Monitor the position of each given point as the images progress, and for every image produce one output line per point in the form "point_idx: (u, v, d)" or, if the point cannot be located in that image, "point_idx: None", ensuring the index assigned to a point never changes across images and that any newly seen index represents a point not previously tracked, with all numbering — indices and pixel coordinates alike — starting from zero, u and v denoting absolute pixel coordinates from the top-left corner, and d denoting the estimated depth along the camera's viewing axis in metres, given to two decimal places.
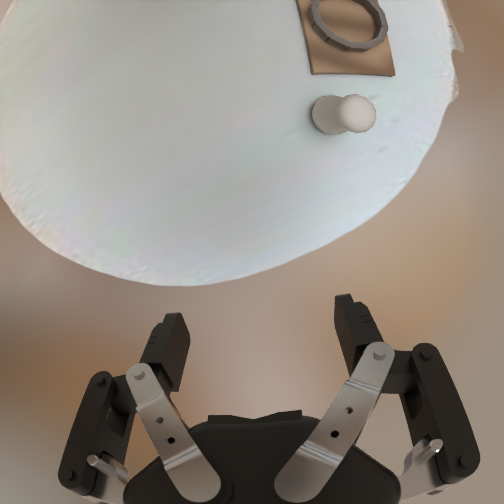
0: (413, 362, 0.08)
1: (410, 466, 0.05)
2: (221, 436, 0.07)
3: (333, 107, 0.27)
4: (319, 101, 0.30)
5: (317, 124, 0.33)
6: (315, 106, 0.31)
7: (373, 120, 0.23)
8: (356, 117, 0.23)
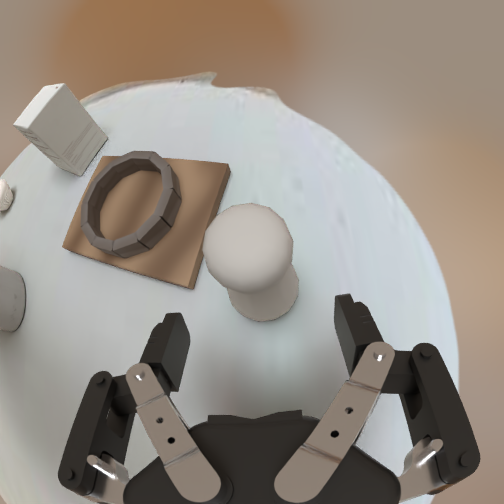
0: (413, 362, 0.08)
1: (410, 466, 0.05)
2: (221, 436, 0.07)
3: None
4: (231, 300, 0.20)
5: (270, 318, 0.20)
6: (238, 309, 0.21)
7: (269, 213, 0.12)
8: (250, 252, 0.12)
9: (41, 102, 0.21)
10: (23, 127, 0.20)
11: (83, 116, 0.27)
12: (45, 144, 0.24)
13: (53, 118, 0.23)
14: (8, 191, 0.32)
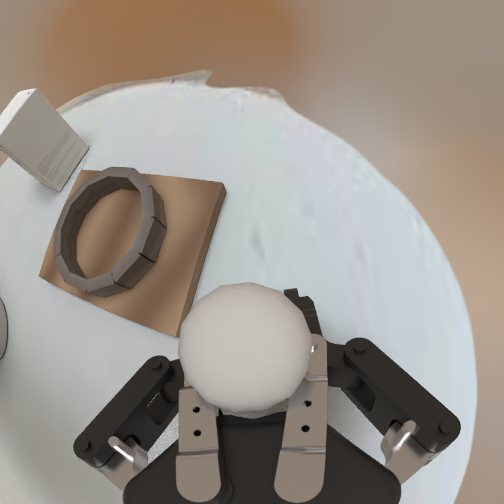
0: (349, 360, 0.09)
1: (392, 453, 0.06)
2: (221, 436, 0.07)
3: None
4: None
5: None
6: None
7: (279, 306, 0.08)
8: (249, 371, 0.07)
9: (12, 110, 0.16)
10: None
11: (59, 124, 0.22)
12: (17, 159, 0.19)
13: (24, 128, 0.18)
14: None
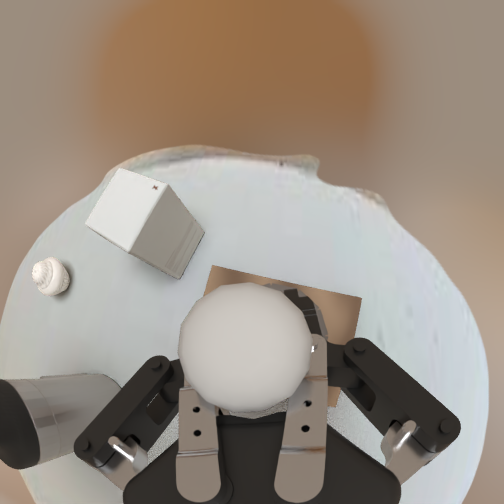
0: (349, 360, 0.09)
1: (392, 453, 0.06)
2: (221, 436, 0.07)
3: None
4: None
5: None
6: None
7: (278, 306, 0.08)
8: (249, 371, 0.07)
9: (135, 207, 0.23)
10: (115, 244, 0.23)
11: (185, 218, 0.29)
12: (148, 262, 0.26)
13: (157, 231, 0.25)
14: (65, 273, 0.34)
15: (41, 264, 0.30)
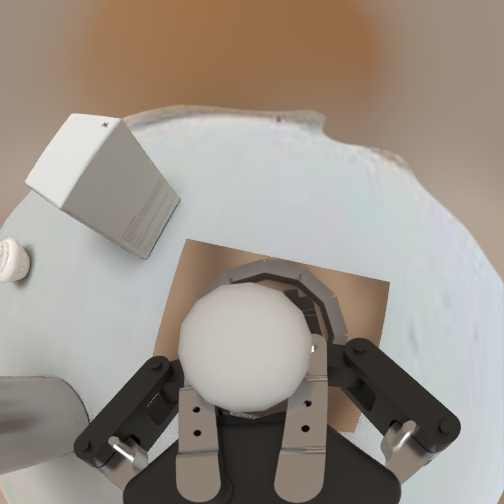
0: (350, 360, 0.09)
1: (392, 453, 0.06)
2: (221, 436, 0.07)
3: None
4: None
5: None
6: None
7: (278, 306, 0.08)
8: (249, 371, 0.07)
9: (78, 151, 0.14)
10: (49, 200, 0.14)
11: (150, 173, 0.21)
12: (94, 228, 0.17)
13: (105, 183, 0.16)
14: (23, 256, 0.25)
15: None
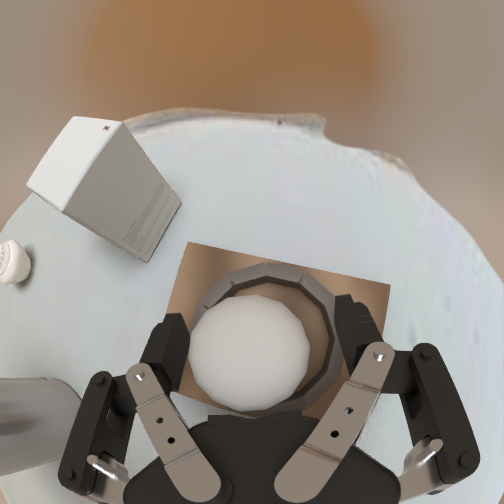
0: (413, 362, 0.08)
1: (410, 466, 0.05)
2: (221, 436, 0.07)
3: None
4: None
5: None
6: None
7: (279, 317, 0.09)
8: (253, 374, 0.08)
9: (79, 154, 0.15)
10: (50, 203, 0.14)
11: (151, 176, 0.21)
12: (95, 231, 0.17)
13: (106, 186, 0.16)
14: (24, 258, 0.26)
15: None
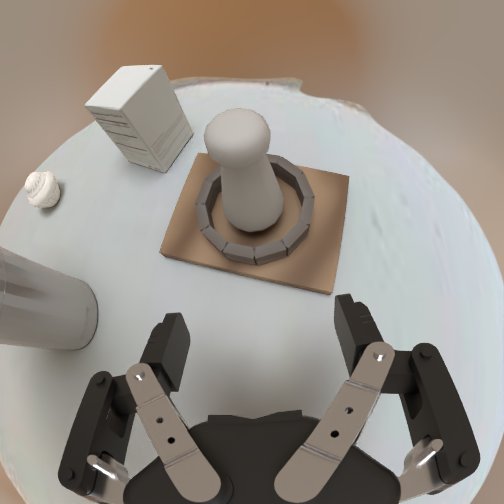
0: (413, 362, 0.08)
1: (410, 466, 0.05)
2: (221, 436, 0.07)
3: (228, 181, 0.19)
4: (225, 210, 0.24)
5: (258, 225, 0.24)
6: (231, 219, 0.24)
7: (252, 111, 0.16)
8: (238, 130, 0.15)
9: (132, 82, 0.22)
10: (109, 108, 0.21)
11: (175, 106, 0.28)
12: (136, 132, 0.25)
13: (148, 102, 0.24)
14: (56, 185, 0.33)
15: (35, 173, 0.29)
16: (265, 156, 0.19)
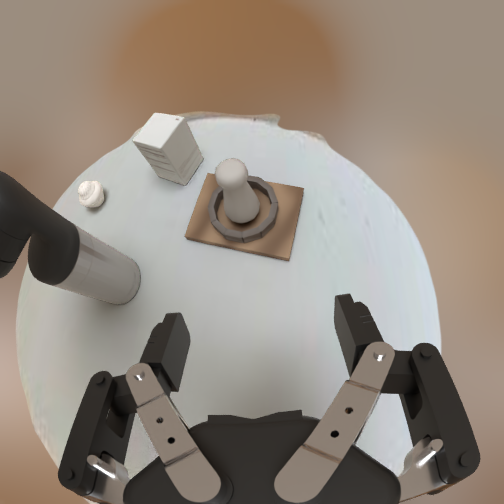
0: (413, 362, 0.08)
1: (410, 466, 0.05)
2: (221, 436, 0.07)
3: (227, 195, 0.37)
4: (225, 211, 0.42)
5: (244, 219, 0.42)
6: (229, 216, 0.42)
7: (238, 161, 0.34)
8: (231, 172, 0.33)
9: (166, 128, 0.40)
10: (152, 146, 0.39)
11: (192, 142, 0.46)
12: (169, 161, 0.43)
13: (176, 142, 0.42)
14: (102, 191, 0.51)
15: (87, 182, 0.47)
16: (246, 182, 0.37)
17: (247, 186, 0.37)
